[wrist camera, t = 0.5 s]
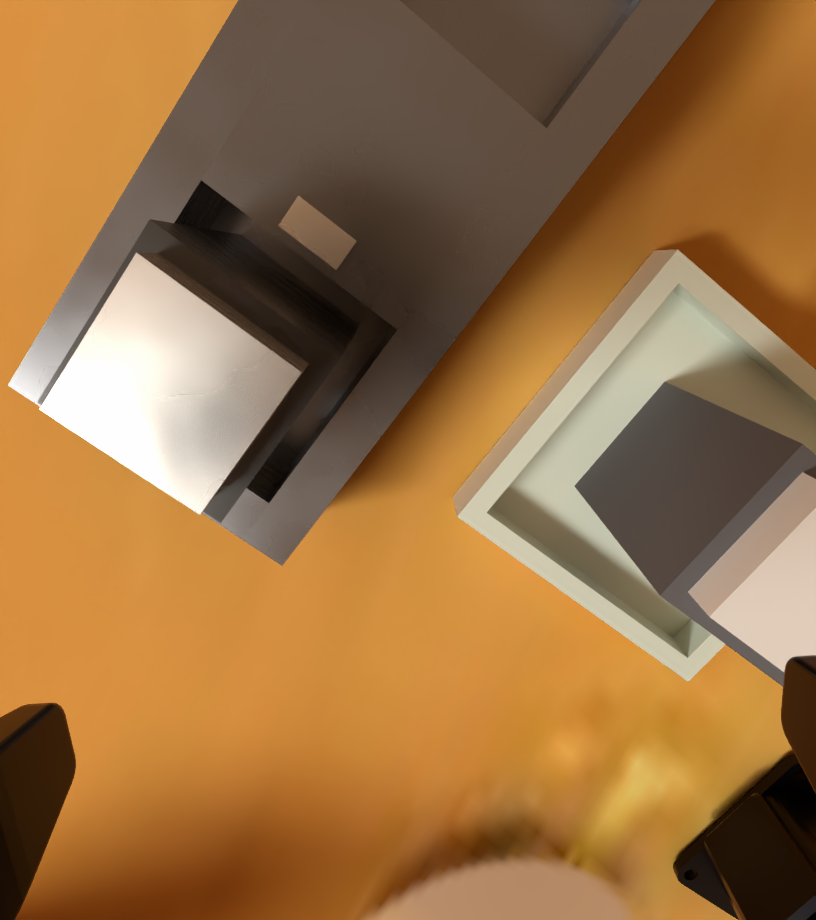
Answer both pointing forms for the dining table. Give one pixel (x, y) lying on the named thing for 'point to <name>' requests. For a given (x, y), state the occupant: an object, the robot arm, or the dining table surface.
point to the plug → (716, 522)
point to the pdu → (328, 234)
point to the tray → (604, 417)
